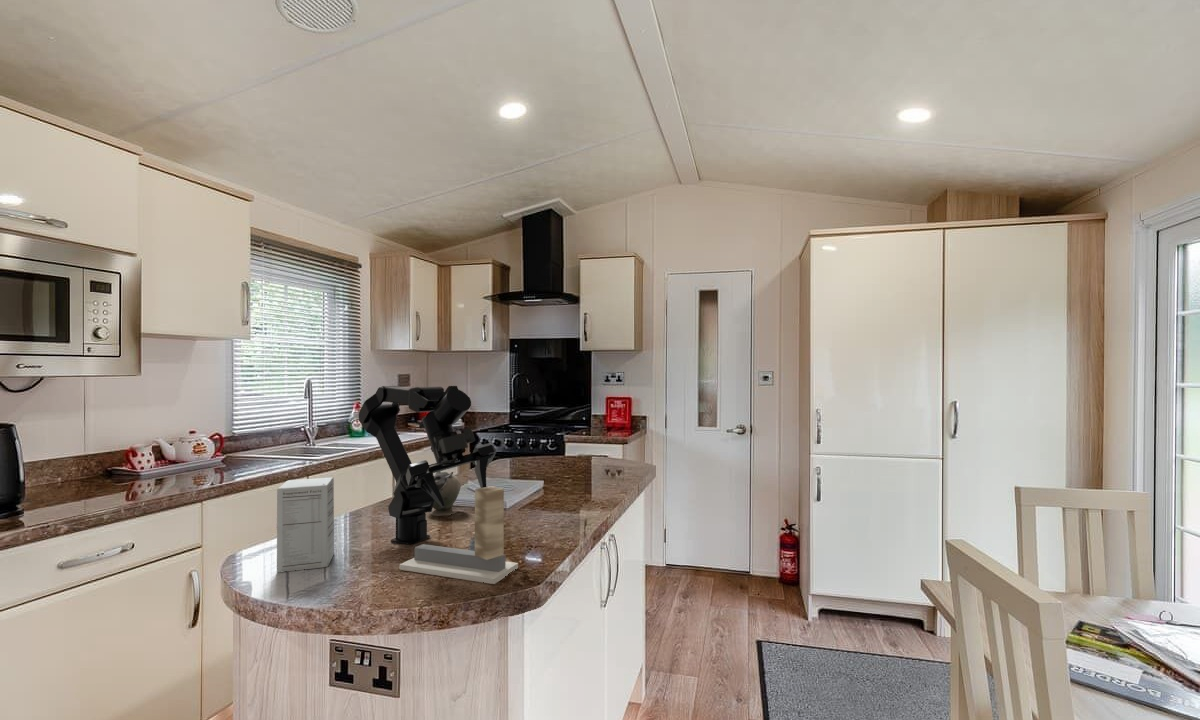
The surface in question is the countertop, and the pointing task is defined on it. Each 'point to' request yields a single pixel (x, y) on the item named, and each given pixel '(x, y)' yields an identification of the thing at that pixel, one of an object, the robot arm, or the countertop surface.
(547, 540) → the countertop surface
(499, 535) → the brass post
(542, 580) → the countertop surface
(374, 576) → the countertop surface
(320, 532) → the supplement box
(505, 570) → the ridge stand
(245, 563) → the countertop surface
